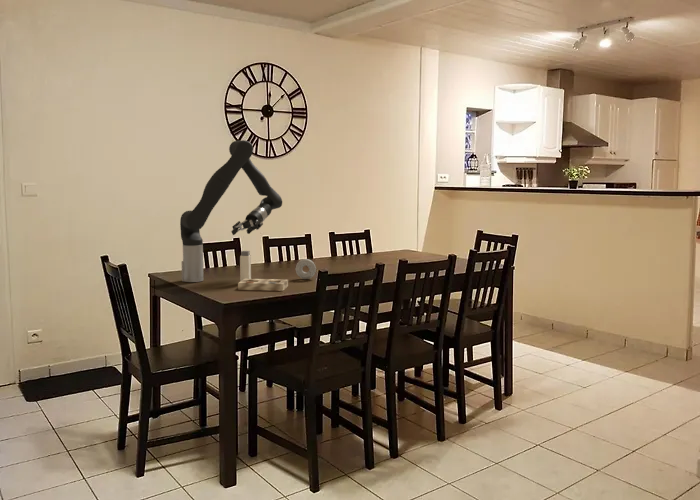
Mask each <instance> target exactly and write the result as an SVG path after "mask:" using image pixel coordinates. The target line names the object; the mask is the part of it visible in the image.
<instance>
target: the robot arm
mask: <svg viewBox="0 0 700 500" xmlns="http://www.w3.org/2000/svg"><path fill="white" fill-rule="evenodd" d="M228 150H229V154H230V157H229V159H228V160H227V161H226V163H224V164H222V166H221V167H219V168H218V169H217V170H216V171H215V172H213V174H212V175H211V177H210V178H209V180H208V181H207V182H206V184H205V187H204V189H203V192H202V195H201V198H200V200H199V201H198V203H197V204H196V205H195V207H193V209H192V210H186V211H185V212H183V213H182V214H181V215H180V216H181V217H180V226H179V228H180V239H181V240H182V241H181V242H182V261H181V282H186V283H198V282H203V281H204V246H203V245H204V241H203V238H202V236H201V232H200V231H201V229H202V228H203V227H204V225H205V224H206V222H207V220H208V218H209V216H210V215H211V213H212V211H213V210H214V208H215V206H216V205H217V204H218V203H219V201H220V199H222V197H223V195H224V194H225V193H226V191H227V189H228V188H229V187H230V185H231V183H232V182H233V181H234V179H235V178H236V176H237V175H238V173H239V172H240V170H243V172H244V173H245V174H246V176H247V177H248V179H249V180H250V182H251V183H252V185H253V187H254V188H255V190H256V192H257V193H258V195H260V196H265V197H264V198H263V199H261V201H260V202H259V205H257V206H256V207H255V208H254V209H252V210H251V211H250V212H249V213H248V214H247V215H246V216H245V219H244V220H243V221H240V220H239V221H237V222H236V223H235V224H233V226H232V230H231V231H230V232H231V233H232V236H234V235H236V234H237V233H238V232H240V231H244V230H246V233H247V234H248V235H250V234H251V233H252V232H253V231H258V230H260V228H261V227H262V226H263V225H264V223H263V222H265V220H266V219H267V218H268V217H269V216H270V214H271V213H272V211H273V210H277V209H280V208H281V207H282V206H283V199H282V197H281V195H280V194H279V193H278V192H277V191H276V190H275V189H274V188H273V187H272V186H271V184H270V183H269V181H268V180H267V178H266V177H265V175H264V174H263V173H262V172H261V170H260V169H258V167H257V166H256V165H255V164H254V163H253V161H252V160H251V157H252V155H253V152H254V147H253V144H252V143H251V142H250V141H248V140H241V139H240V140H234V141H232V142H231V143H230V145H229V148H228Z"/></svg>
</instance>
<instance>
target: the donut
mask: <svg viewBox="0 0 700 500" xmlns="http://www.w3.org/2000/svg"><path fill="white" fill-rule="evenodd" d="M305 266H306V267H307V268H308V271H307V272H306V271H304V270H303V268H304V267H305ZM316 271H317V267H316V264H315V262H314V261H313V260H311V259H308V258H304V259H303V258H302V259H301V260H299V261H298V262H297V263H296V266H295V273H296V275H297V277H299V278H301V279H302V280H309V279H311V278H313V277H314V276H315V274H316Z"/></svg>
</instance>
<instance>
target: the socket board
mask: <svg viewBox="0 0 700 500" xmlns="http://www.w3.org/2000/svg"><path fill="white" fill-rule="evenodd" d="M288 287H289V279H282V278H281V279H279V278H278V279H276V278H273V279H272V278H251V279H244V280H242V281H239V282H237V290H238V291H279V292H281V291H284V290H286V289H287V288H288Z"/></svg>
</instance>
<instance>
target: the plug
mask: <svg viewBox="0 0 700 500" xmlns="http://www.w3.org/2000/svg"><path fill="white" fill-rule="evenodd" d="M250 253H251V251H250V250H241V251H240V256H239V265H240V266H239V267H240V268H239V270H240V271H239V273H240V274H239V278H240V279H239V280H240V281H242V280H244V279H252V266H251V264H252V257H251V256H252V255H250ZM240 281H239V282H240Z"/></svg>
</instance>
